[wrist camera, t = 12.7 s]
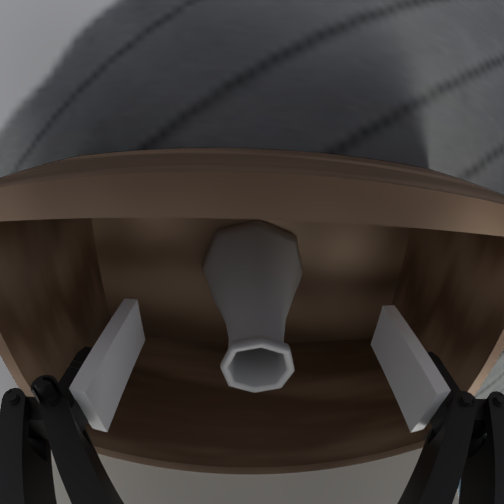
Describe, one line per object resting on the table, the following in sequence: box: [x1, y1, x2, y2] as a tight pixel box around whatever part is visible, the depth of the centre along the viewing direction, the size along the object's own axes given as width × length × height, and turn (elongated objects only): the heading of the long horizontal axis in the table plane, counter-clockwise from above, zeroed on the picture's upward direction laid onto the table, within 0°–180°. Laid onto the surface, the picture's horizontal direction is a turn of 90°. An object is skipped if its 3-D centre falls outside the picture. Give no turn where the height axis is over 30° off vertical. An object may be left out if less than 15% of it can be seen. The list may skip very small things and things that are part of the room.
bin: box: [0, 148, 504, 474], centre depth 16 cm, size 16×26×12 cm, turn 88°
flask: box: [202, 220, 303, 393], centre depth 16 cm, size 7×7×10 cm
